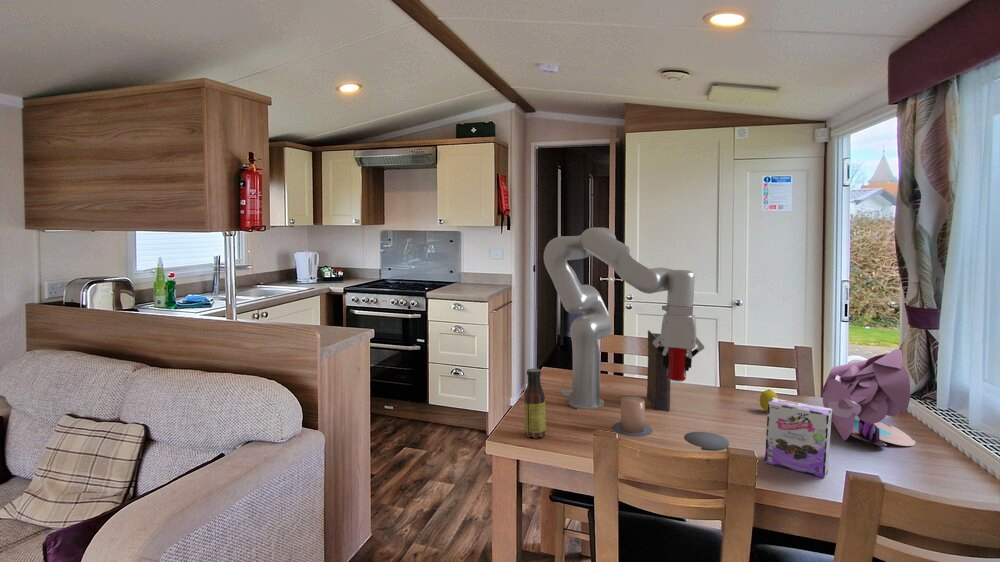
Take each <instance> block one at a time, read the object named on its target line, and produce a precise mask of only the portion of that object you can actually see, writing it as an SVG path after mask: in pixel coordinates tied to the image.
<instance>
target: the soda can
mask: <svg viewBox="0 0 1000 562" xmlns="http://www.w3.org/2000/svg"><path fill="white" fill-rule="evenodd" d="M687 356H688V354H687V351H686V349H681V348H669V349H668V369H667V377H668V379H669V380H671V381H672V382H679V383H680V382H684V381H685V380H686V379H687V371H686V358H687Z"/></svg>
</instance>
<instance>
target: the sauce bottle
mask: <svg viewBox="0 0 1000 562" xmlns="http://www.w3.org/2000/svg"><path fill="white" fill-rule="evenodd" d="M541 374H542V372H541V370H540V368H528V369H527V370H526V375H527V386H526V388H525V390H524V394H523V395H524V396H523V398H524V401H523V403H524V404H523V405H524V407H523V409H524V410H523V411H524V430H525V436H526V437H528V436H529V437H528V438H530V437H535V438H534V439H539V438H538V437H541V438H543V436H544V437H545V436H546V431H547V421H546V396H545V393H544V390H543V387H542V384H541Z"/></svg>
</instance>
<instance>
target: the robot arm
mask: <svg viewBox="0 0 1000 562" xmlns="http://www.w3.org/2000/svg"><path fill="white" fill-rule="evenodd" d="M588 257H595V258H596V259H598V260H600V261H601V262H604V263H605V264H606V265H608V266H609V267H611V268H612V269H613V270H614V272H615V273H616V274H617V275H618V277H619V278H621V280H623V281H624V282H625V283H627V284H628V285H630V286H631V287H633V288H635V290H637V291H639V292H642V293H644V294H647V295H649V294H650V295H651V294H655V293H660V292H667V298H666V299H667V300H666V302H667V303H666V304H665V305H661V310H662V311H665V313H664V314H663V316H662V317H663V318H662V322H661V329H660V334H661V335H660V336H658V337H657V338H656V339H655V340H654V341H653V345H654V346H656V347H657V348H658V350H659V351H660V352H661V353H662V355H663V365H665V369H667V368H668V349H669V348H681V349H686V351H687V358H686V372H689V370H690V369H691V368H692V361H693V357H695V356H696V355H697V354H698V353H700V352H702V351H703V350H704V349H705V344H703V343H702V342H701V340H700V339H699V337H697V322H696V316H695V315H694V295H695V294H694V293H695V292H694V291H695V278H696V277H695V273H694V272H693V271H691V270H688V269H671V268H667V267H652V268H649V267H647V266H645V265H643V264H642V263H640V262H639V261H637V260H636V259H634V258H633V256H631V249H630V247H629V246H628V245H626V244H625V243H623V242H622V241H619V240H618V239H617V237H616V235H615V233H614V232H613V230H611V229H610V228H607V227H589V228H586V229H585V230H584V231H583V232H582V233H581V234H579V235H571V236H569V235H567V236H566V235H565V236H563V235H561V236H558V237H554V238H553V239H550V240H549V242H548V243H547V244H546V246H545V247H544V251H543V263H544V266H545V269H546V271H547V273H548V275H549V277H550V279H551V281H552V283H553V286H554V288H555V290H556V292H557V295H558V297H559V299H560V301H561V305H562V306H563V308H564V310H565V312H568V313H569V314H574V315H575V314H579V313H582V315H580V316H578V317H576V318H575V319H574V320H573V321H572V323H570V324H571V325H570V329H569V331H570V338H571V346H572V376H571V377H572V380H571V381H572V383H571V384H572V385H571V386H572V388H571V389H569V390H567V389H561V390H560V395H561V397H562V398H568V399H567V405H568V404H569V405H570V406H569V405H568V406H569V407H571V408H573V409H576V410H578V409H583V410H595V409H600V408H602V407H604V406H605V401H604V400H603V399H601V350H600V346H599V343H598V340H601V339H604V338H607V337H608V336H609V335H610V334H611V333H612V330H613V321H612V318H611V316H610V313H609V310H608V309H607V307H606V304H605V302H604V300H603V298H602V296H601V294H600V292H599V291H598V290H597V289H596V288H595V287H594V286H592V285H590V284H581V282H580V280H579V278H578V276H577V274H576V272H575V270H574V269H573V268H572V266H571V265H570V264H569V262H568V261H573V260H574V261H575V260H582V259H586V258H588ZM659 341H660V343H661V345H662V346H663V347H665V348H663V347H662V346H661V345H660V344H659ZM696 346H697V347H696Z"/></svg>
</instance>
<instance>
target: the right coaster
mask: <svg viewBox="0 0 1000 562" xmlns="http://www.w3.org/2000/svg"><path fill="white" fill-rule="evenodd" d="M683 438H684V441H686V442H687V443H689V444H691V445H693V446H696V447H700V449H701V450H705V451H721V450H725V449H728V447H729V445H730V442H729V440H728V439H727V438H726V437H724V436H722V435H719V434H716V433H712V432H706V431H692V432H687V433H686V434H684V436H683Z"/></svg>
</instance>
